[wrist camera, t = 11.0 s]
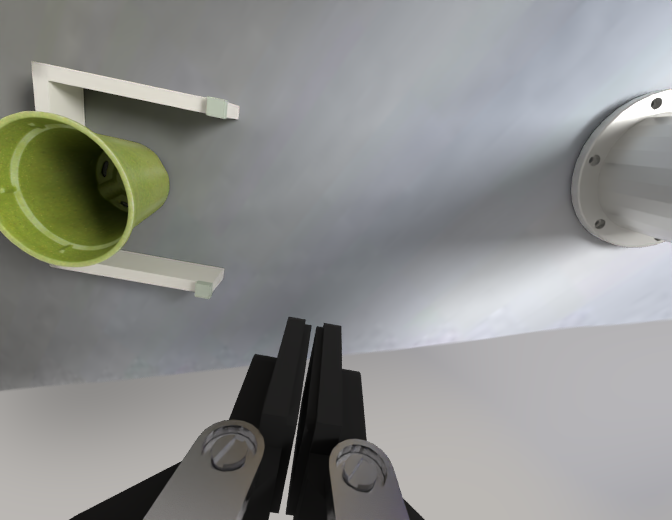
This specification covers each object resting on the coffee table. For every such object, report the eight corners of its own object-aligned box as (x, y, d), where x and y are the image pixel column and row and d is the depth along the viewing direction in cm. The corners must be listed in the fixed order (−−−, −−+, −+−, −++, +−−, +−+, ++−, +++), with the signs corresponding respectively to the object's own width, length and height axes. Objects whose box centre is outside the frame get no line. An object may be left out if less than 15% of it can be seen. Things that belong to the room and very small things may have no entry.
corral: (240, 105, 27) (225, 99, 23) (224, 279, 32) (209, 299, 28) (69, 68, 26) (23, 57, 22) (79, 254, 31) (43, 270, 27)
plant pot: (71, 212, 30) (-28, 241, 22) (81, 100, 27) (-28, 85, 19) (178, 246, 31) (122, 285, 23) (199, 142, 28) (144, 145, 20)
